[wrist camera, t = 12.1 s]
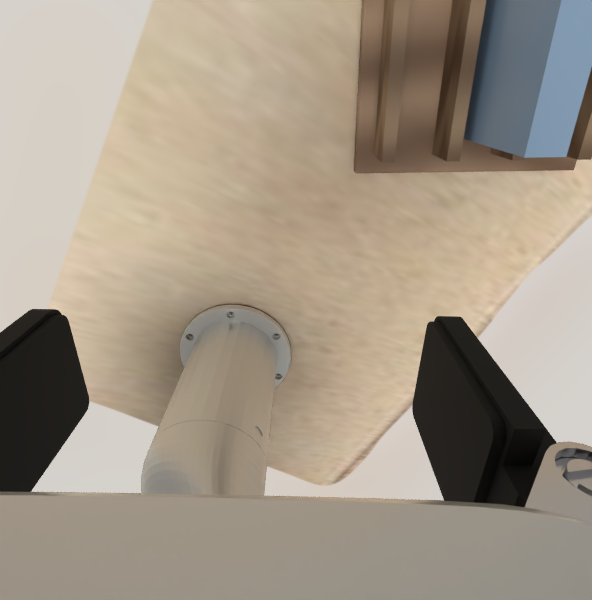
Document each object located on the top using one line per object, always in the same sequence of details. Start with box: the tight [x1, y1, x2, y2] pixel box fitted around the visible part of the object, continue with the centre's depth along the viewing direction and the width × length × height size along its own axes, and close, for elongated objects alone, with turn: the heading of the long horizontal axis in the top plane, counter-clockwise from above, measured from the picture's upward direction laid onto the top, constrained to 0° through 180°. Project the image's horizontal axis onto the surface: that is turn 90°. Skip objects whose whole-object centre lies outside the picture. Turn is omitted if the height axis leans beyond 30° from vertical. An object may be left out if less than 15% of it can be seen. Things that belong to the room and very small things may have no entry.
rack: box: [354, 0, 592, 173], centre depth 30 cm, size 16×19×5 cm
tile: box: [464, 0, 592, 158], centre depth 26 cm, size 10×2×12 cm, turn 1°
